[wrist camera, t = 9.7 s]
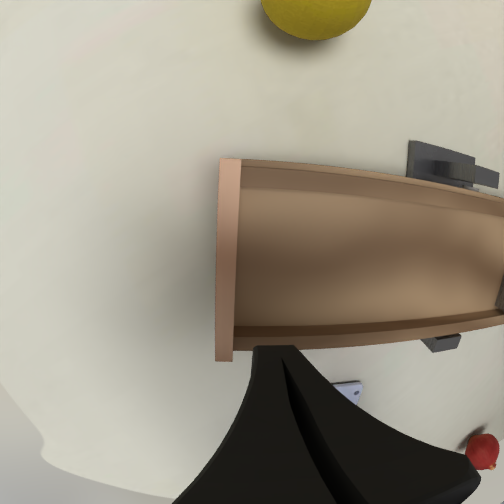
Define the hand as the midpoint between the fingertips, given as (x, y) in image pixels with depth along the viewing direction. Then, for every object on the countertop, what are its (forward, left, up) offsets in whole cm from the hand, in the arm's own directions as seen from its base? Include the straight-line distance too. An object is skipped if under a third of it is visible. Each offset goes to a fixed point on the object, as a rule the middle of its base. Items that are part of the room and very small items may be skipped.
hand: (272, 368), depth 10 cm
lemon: (+16, -2, -10) cm, 19 cm away
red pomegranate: (-28, -36, -10) cm, 47 cm away
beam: (+2, -11, -7) cm, 13 cm away
